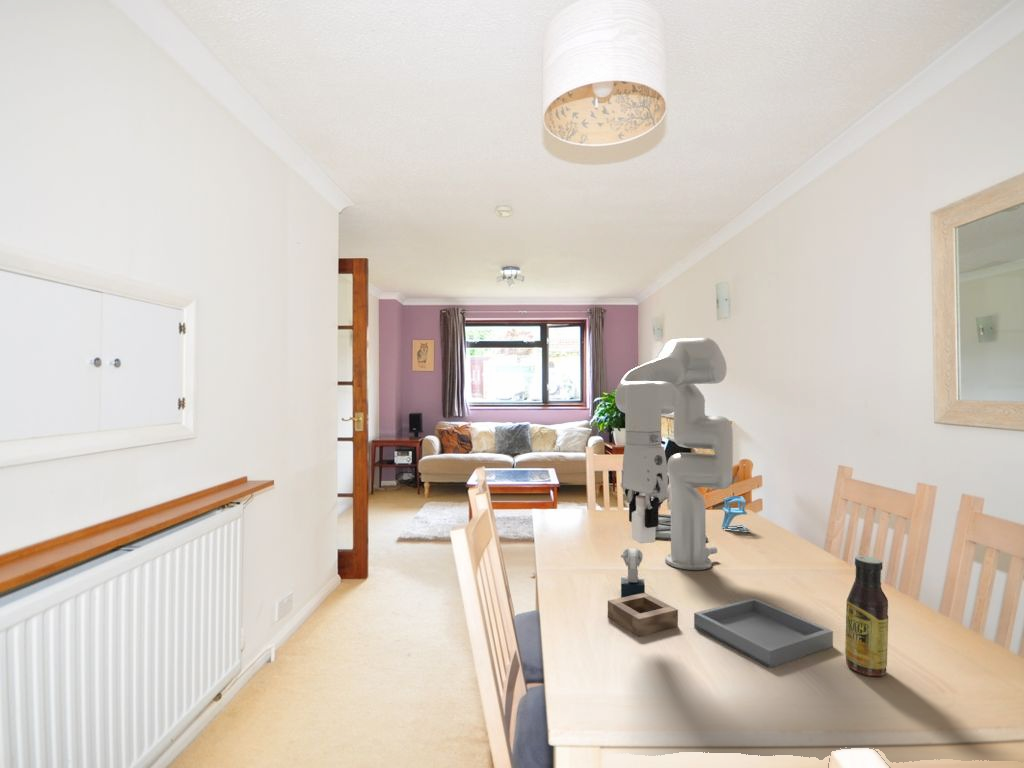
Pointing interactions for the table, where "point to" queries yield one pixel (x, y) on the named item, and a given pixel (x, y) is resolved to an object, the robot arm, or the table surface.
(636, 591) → the watch
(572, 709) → the table surface
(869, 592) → the sauce bottle
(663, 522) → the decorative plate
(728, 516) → the chair
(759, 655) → the tray
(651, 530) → the salt shaker
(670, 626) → the shaker holder
